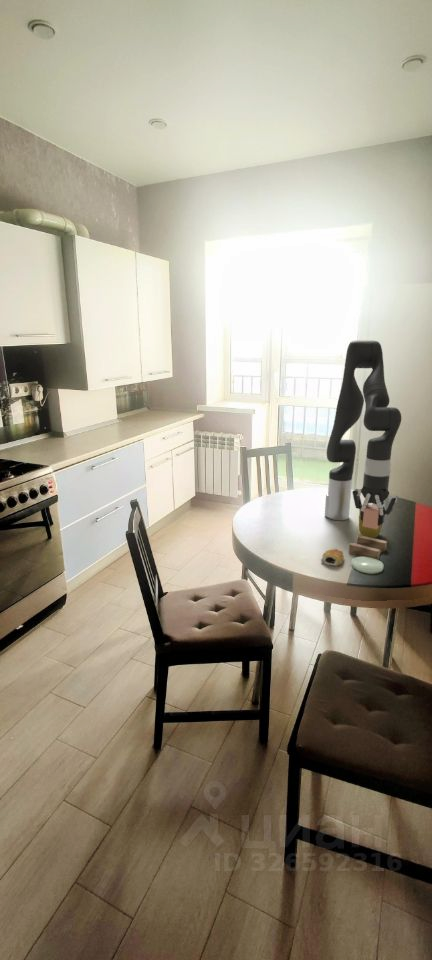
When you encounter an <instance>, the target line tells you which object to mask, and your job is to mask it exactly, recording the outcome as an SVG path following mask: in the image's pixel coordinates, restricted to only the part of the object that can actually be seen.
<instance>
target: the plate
mask: <svg viewBox="0 0 432 960" xmlns="http://www.w3.org/2000/svg"><path fill="white" fill-rule="evenodd" d="M351 567H352V568H353V569H355V571H358V572H359V573H364V574H370V575H372V574H373V575H375V574H379V573H381V572H383V571H384V563H383V562H382V561H380V560H379V559H378V560H377V559H375V558H372V557H364V556H357V557H356V556H355V557H354V558H352V560H351Z"/></svg>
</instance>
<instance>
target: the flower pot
mask: <svg viewBox="0 0 432 960" xmlns="http://www.w3.org/2000/svg"><path fill="white" fill-rule="evenodd" d="M358 510H359V512H358V530H359V534H360V535H362V536H367V537H371V538H375V539H377V537H378V536H379V535H380V533H381V531H382V528H383V524H382V525H381V526H379V527H378V528H377V529H372V528H368V527H364V526H363V522H362V520H361V519H360V518H361V510H360V509H358Z"/></svg>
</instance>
